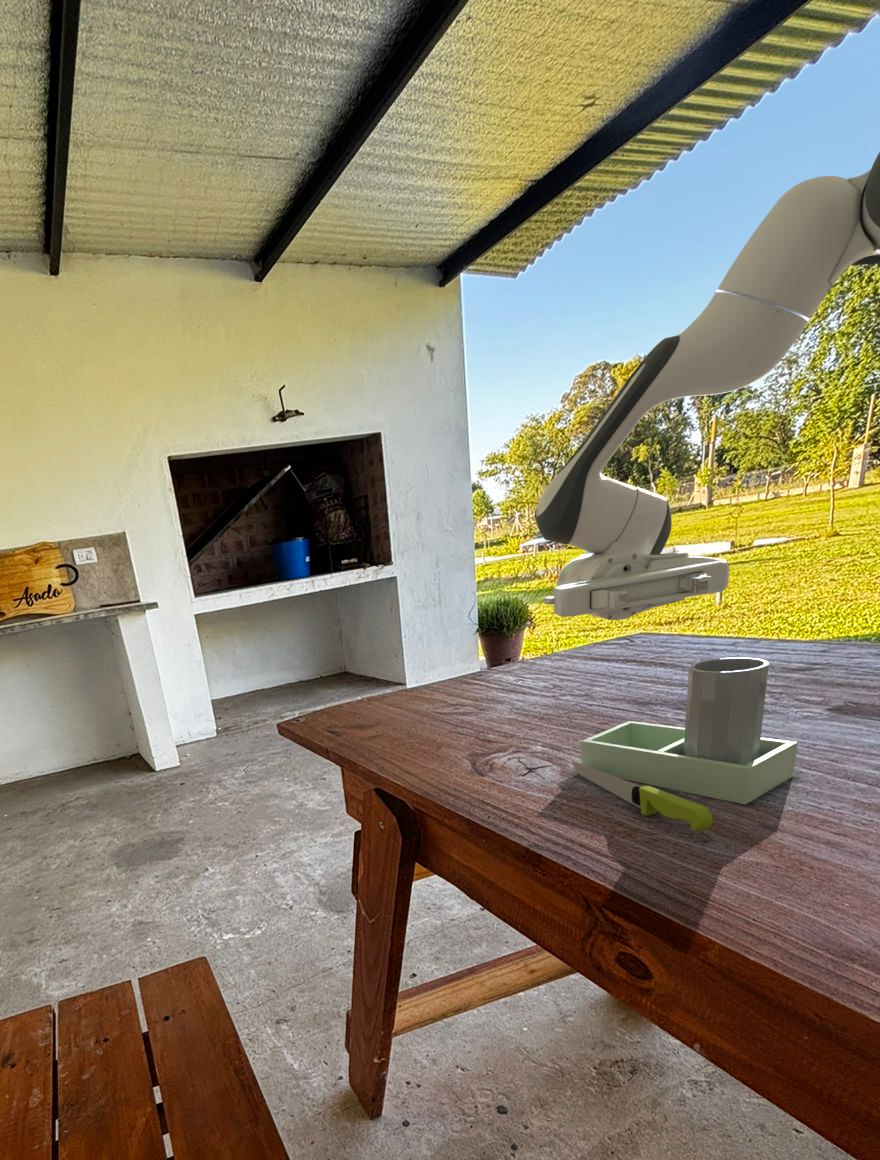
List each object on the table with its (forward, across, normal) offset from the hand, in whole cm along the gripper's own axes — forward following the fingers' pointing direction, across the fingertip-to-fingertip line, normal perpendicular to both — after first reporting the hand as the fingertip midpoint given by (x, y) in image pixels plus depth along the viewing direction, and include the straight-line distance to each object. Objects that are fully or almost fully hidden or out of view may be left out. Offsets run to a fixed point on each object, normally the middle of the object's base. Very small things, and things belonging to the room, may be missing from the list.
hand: (662, 592), depth 73 cm
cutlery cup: (+16, -1, +18) cm, 24 cm away
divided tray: (+12, -3, +19) cm, 23 cm away
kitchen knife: (+18, -11, +19) cm, 29 cm away
